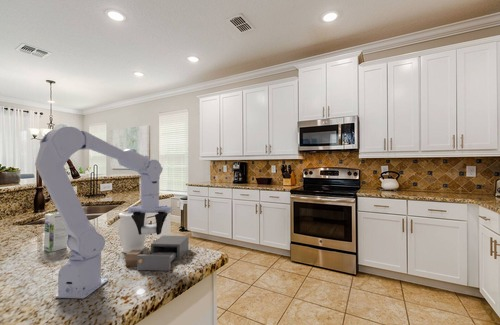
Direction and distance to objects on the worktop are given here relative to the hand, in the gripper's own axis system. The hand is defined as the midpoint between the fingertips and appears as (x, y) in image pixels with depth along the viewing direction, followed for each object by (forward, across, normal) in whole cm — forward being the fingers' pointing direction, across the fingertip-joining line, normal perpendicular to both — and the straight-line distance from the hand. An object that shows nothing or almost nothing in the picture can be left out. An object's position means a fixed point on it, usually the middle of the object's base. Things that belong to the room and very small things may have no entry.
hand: (150, 233), depth 80 cm
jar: (+10, +13, -13) cm, 21 cm away
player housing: (+10, -4, -9) cm, 14 cm away
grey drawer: (+10, -4, 0) cm, 11 cm away
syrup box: (+10, +45, -13) cm, 48 cm away
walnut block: (+10, +5, 0) cm, 12 cm away
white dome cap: (-1, 0, 0) cm, 1 cm away
